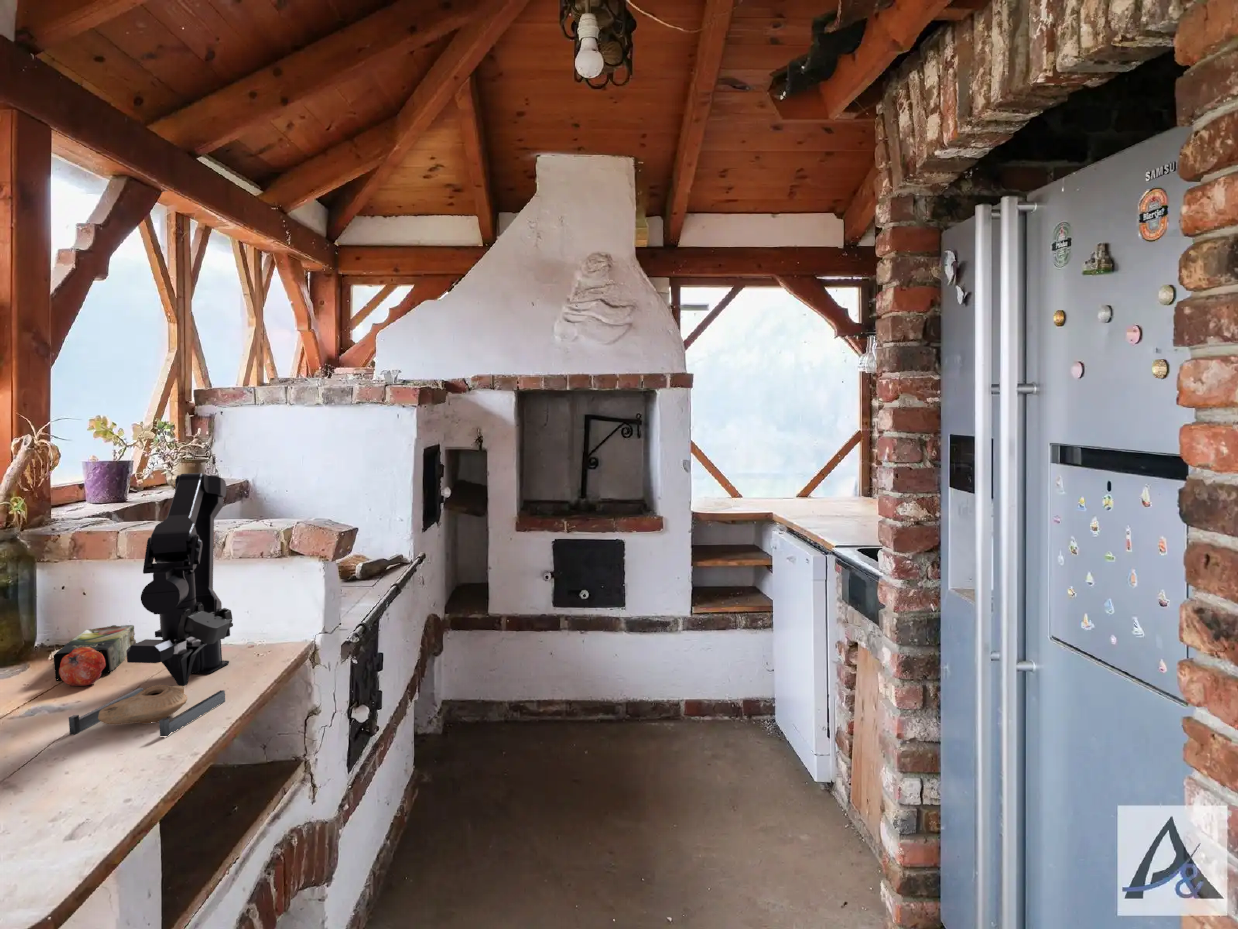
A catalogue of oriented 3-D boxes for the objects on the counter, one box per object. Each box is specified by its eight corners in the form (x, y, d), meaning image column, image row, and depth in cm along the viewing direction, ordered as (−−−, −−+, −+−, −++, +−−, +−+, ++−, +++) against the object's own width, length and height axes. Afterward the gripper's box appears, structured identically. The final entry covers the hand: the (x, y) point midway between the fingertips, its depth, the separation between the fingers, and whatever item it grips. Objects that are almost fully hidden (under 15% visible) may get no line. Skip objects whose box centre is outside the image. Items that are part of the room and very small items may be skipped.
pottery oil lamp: (91, 725, 125) (103, 681, 128) (172, 731, 132) (182, 688, 135) (100, 721, 119) (113, 675, 122) (184, 727, 126) (195, 683, 129)
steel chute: (139, 698, 137) (138, 683, 137) (225, 701, 135) (224, 686, 135) (69, 734, 123) (68, 717, 122) (165, 738, 120) (164, 720, 120)
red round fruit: (72, 691, 148) (36, 674, 140) (92, 654, 152) (58, 636, 144) (106, 696, 147) (72, 680, 139) (126, 659, 151) (93, 642, 143)
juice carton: (86, 652, 166) (84, 624, 165) (138, 647, 169) (136, 620, 168) (52, 684, 147) (50, 653, 146) (111, 678, 150) (110, 647, 150)
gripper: (183, 614, 125) (188, 707, 126) (251, 587, 144) (255, 668, 145) (121, 613, 126) (127, 705, 128) (196, 587, 145) (201, 667, 146)
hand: (182, 685), depth 137 cm, fingers closed
